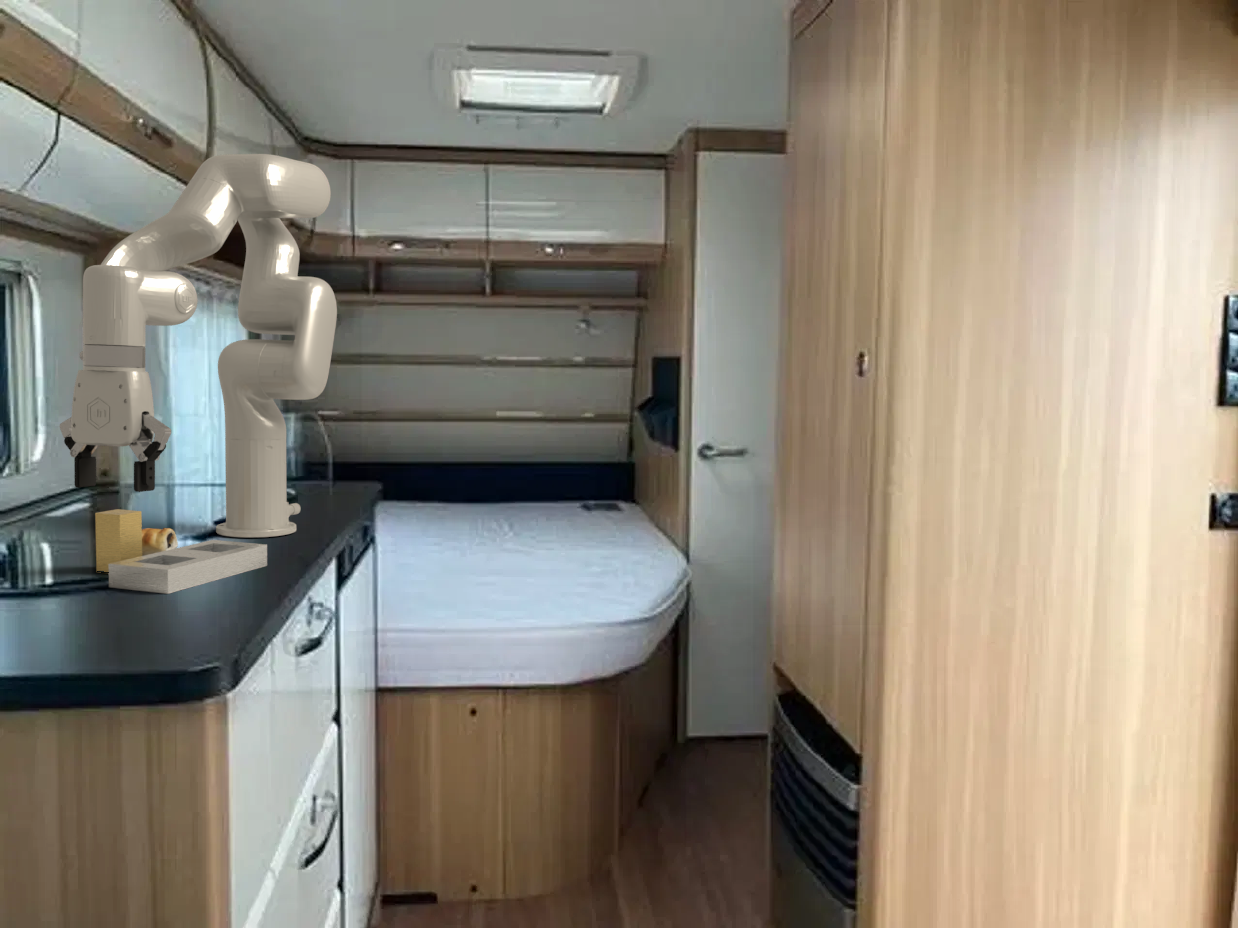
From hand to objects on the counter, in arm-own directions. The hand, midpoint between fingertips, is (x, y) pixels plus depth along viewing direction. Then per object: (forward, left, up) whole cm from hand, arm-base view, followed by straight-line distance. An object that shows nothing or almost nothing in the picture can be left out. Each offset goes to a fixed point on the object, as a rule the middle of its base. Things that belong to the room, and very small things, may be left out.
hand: (114, 488), depth 148 cm
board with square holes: (-2, +11, -11) cm, 16 cm away
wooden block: (-1, 0, -11) cm, 11 cm away
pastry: (-13, -7, -12) cm, 19 cm away
